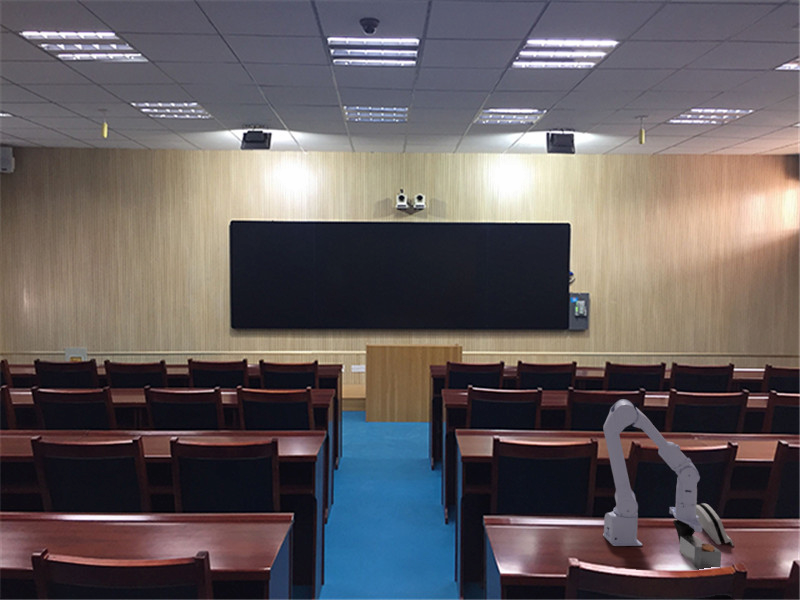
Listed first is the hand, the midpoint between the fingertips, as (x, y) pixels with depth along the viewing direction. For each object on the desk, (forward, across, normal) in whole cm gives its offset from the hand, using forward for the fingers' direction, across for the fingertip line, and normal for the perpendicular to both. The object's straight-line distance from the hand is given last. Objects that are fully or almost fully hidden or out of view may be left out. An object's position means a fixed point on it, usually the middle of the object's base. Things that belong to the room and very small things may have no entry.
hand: (684, 545), depth 178 cm
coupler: (+1, -8, 0) cm, 8 cm away
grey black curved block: (+2, +11, -16) cm, 20 cm away
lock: (+1, -6, 0) cm, 6 cm away
